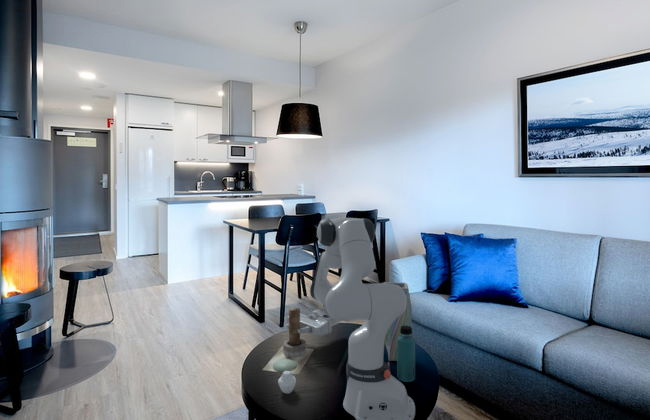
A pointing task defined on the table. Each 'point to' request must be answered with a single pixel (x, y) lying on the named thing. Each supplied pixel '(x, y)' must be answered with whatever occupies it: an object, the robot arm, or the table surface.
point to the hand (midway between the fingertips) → (292, 329)
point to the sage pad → (284, 365)
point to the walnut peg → (294, 326)
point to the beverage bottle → (406, 355)
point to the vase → (398, 324)
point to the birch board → (291, 356)
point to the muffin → (287, 382)
